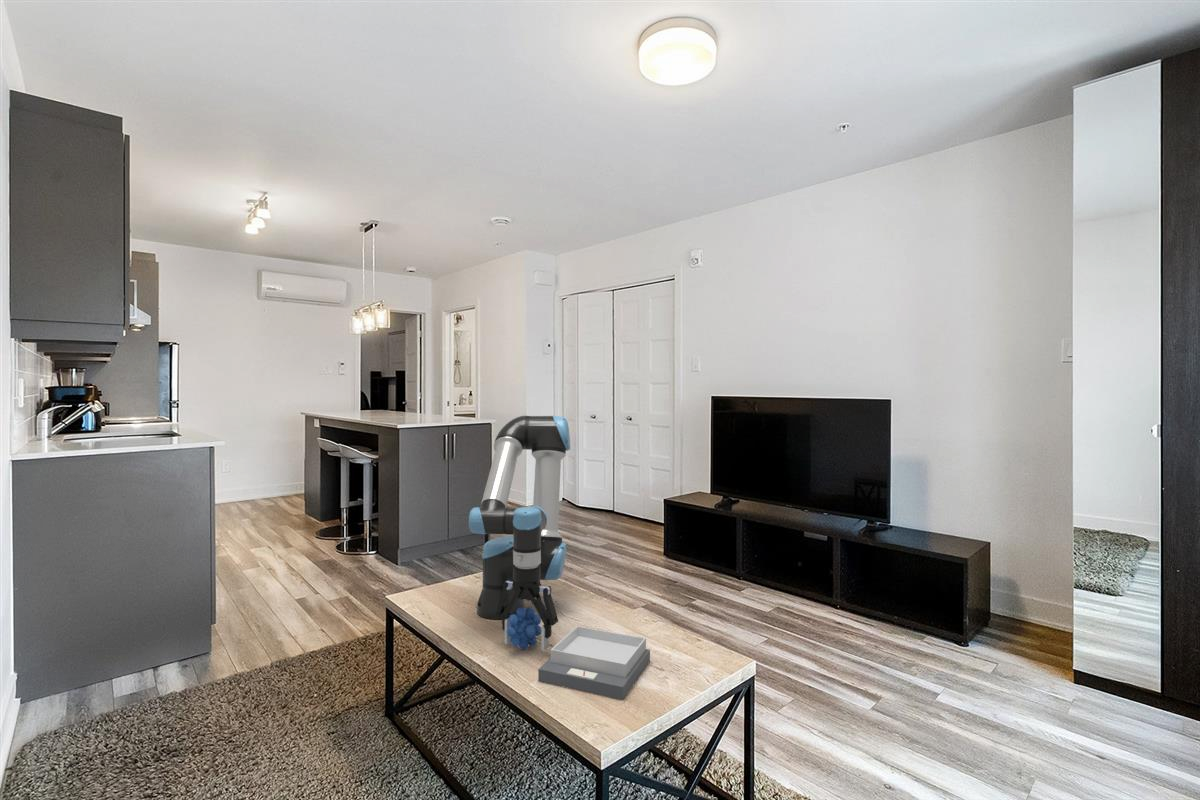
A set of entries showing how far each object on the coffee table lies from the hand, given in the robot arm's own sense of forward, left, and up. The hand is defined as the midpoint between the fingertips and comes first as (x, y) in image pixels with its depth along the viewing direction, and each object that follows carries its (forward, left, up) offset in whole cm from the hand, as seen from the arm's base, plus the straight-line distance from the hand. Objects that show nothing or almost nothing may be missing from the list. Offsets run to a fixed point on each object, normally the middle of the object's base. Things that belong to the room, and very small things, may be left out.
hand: (526, 645), depth 157 cm
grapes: (0, 0, -2) cm, 2 cm away
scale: (+22, -3, -1) cm, 22 cm away
